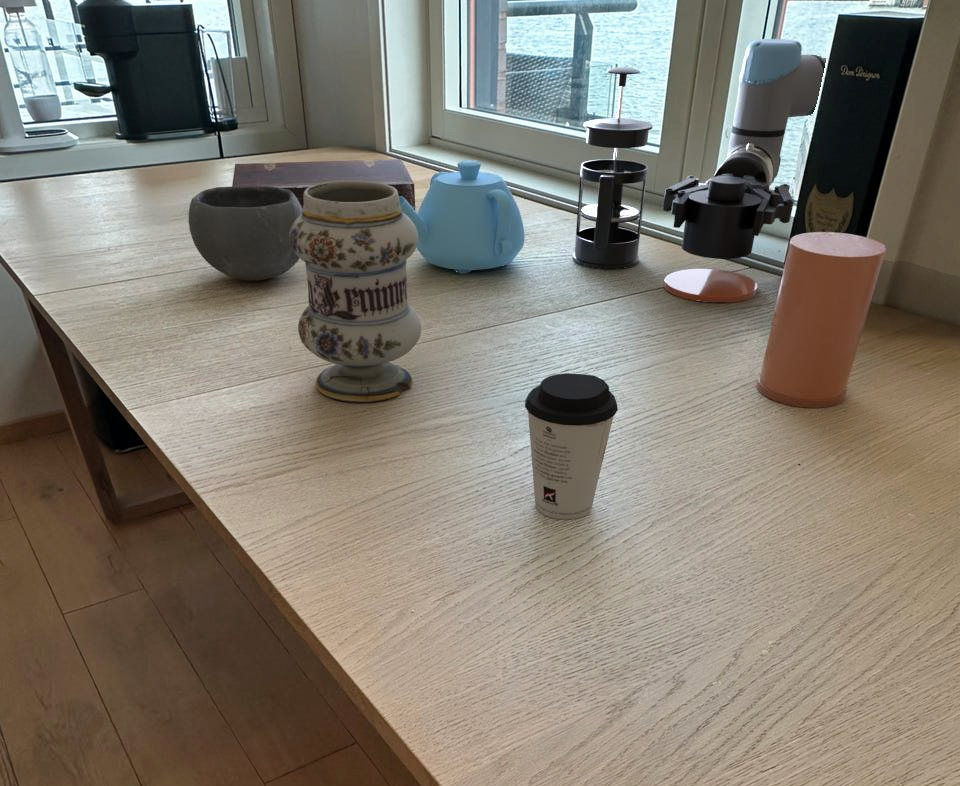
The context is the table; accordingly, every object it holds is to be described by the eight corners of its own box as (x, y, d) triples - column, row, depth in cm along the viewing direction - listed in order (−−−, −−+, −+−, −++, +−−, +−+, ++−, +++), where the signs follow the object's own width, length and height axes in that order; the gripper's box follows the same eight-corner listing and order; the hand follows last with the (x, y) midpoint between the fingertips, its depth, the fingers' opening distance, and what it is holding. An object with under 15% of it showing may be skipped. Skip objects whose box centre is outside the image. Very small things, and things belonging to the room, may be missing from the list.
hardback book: (236, 222, 138) (231, 187, 134) (240, 195, 152) (235, 163, 149) (415, 215, 142) (414, 181, 139) (402, 190, 156) (401, 159, 153)
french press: (580, 247, 128) (594, 61, 113) (643, 252, 126) (665, 64, 111) (564, 269, 119) (577, 72, 104) (631, 275, 117) (654, 75, 102)
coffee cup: (544, 535, 66) (552, 412, 59) (506, 493, 71) (509, 375, 64) (622, 516, 68) (638, 396, 62) (580, 477, 73) (590, 362, 66)
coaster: (761, 280, 116) (762, 274, 115) (750, 308, 107) (751, 301, 106) (673, 270, 119) (674, 264, 118) (655, 296, 110) (656, 290, 110)
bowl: (302, 256, 123) (292, 178, 117) (320, 287, 112) (311, 203, 106) (195, 265, 119) (180, 185, 113) (203, 298, 108) (187, 212, 102)
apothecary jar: (393, 416, 82) (381, 210, 71) (283, 397, 85) (254, 197, 74) (441, 370, 91) (437, 181, 79) (339, 354, 94) (321, 171, 82)
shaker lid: (755, 243, 112) (769, 175, 107) (746, 262, 105) (760, 190, 100) (688, 236, 114) (698, 169, 109) (675, 254, 108) (685, 184, 103)
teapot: (555, 270, 118) (561, 168, 110) (432, 296, 110) (428, 187, 102) (475, 238, 131) (475, 144, 123) (359, 259, 122) (351, 159, 114)
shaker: (847, 380, 89) (888, 237, 80) (843, 413, 83) (887, 261, 74) (761, 368, 92) (792, 227, 83) (751, 400, 85) (784, 251, 77)
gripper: (669, 145, 121) (633, 177, 104) (829, 157, 115) (817, 193, 98) (662, 203, 125) (626, 243, 109) (815, 218, 120) (801, 262, 103)
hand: (717, 219), depth 104 cm, fingers closed on shaker lid, 9 cm apart
